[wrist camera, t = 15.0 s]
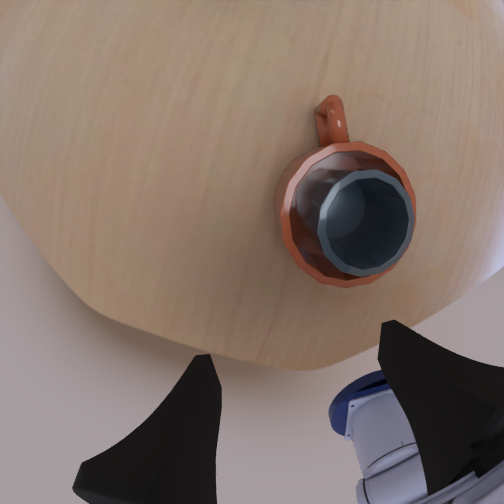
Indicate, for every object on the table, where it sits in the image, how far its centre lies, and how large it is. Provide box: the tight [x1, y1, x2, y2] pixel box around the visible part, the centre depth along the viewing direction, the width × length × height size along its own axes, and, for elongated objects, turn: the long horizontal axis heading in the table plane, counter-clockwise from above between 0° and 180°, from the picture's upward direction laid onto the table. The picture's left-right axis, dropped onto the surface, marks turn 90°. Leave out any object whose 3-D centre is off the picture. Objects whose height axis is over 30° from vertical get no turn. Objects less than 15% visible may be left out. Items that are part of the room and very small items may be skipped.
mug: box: [274, 95, 416, 288], centre depth 16 cm, size 11×8×5 cm
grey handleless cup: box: [297, 167, 415, 277], centre depth 15 cm, size 5×5×6 cm
